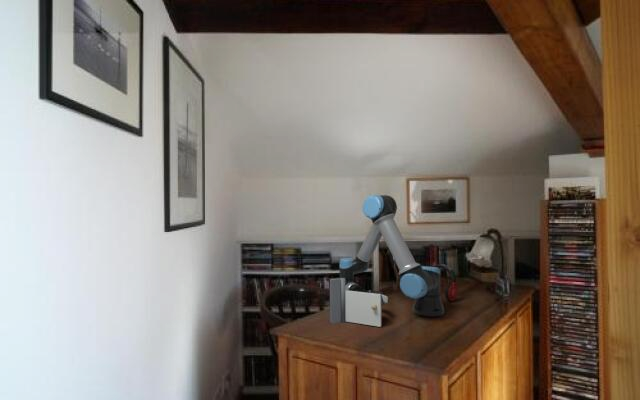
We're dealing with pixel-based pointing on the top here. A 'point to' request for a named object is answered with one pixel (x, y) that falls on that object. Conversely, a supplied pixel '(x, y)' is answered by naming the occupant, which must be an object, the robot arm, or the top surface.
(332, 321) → the wall frame
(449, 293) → the headphones
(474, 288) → the top surface
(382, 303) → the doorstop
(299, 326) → the top surface
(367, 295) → the door
